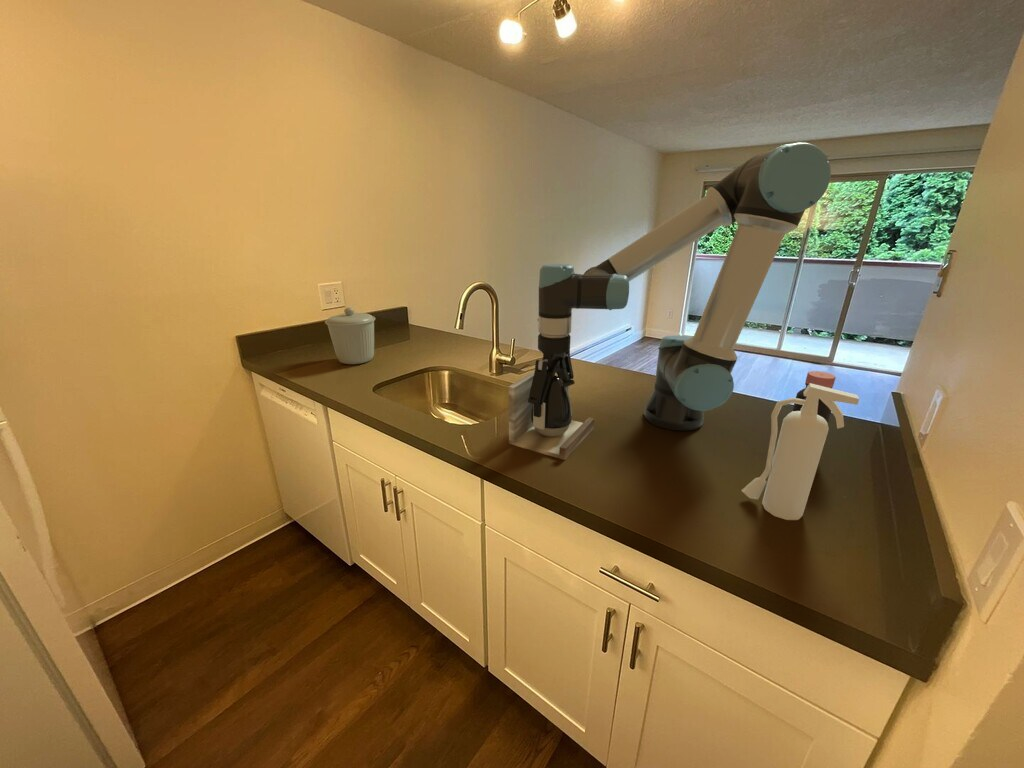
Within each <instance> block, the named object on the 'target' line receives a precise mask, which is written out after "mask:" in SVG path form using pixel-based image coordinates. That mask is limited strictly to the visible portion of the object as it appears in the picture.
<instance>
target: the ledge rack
mask: <svg viewBox="0 0 1024 768" xmlns="http://www.w3.org/2000/svg"><path fill="white" fill-rule="evenodd" d="M534 372H535V370H534V371H531V373H529V374H527V375H525V376H524V377H522V378H521V379H518V380H517V381H516V382H514V383H512V384H510V385H509V386H508V388H507V390H508V444H509V445H512V446H516V447H519V448H522V449H526V450H529V451H531V452H534V453H535V452H536V453H539V454H542V455H546V456H549V457H553V458H556V459H559V460H563V461H566V460H567V459H568V458H569V457H570V456H571V455H572V454H573V452H574V451H575V450H576V449H577V448H578V447H579V446H580V444H581V443H583V441H584V440H585V439H586V438H587V437H588V436H589V435H590V434H591V432H592V431H593V430H594V429H595V428H594V427H595V418H594V417H590V416H589V417H588V418H587V419H585V421H583V422H581V421H576V420H573V419H572V422H571V423H570V425H569V428H568V429H567V431H566V432H565V433H563V434H562V435H559V436H555V437H548V436H544V435H542V434H540V433H539V432H538V431H537V430H536V429H535V428H534V427H533V422H532V421H531V411H532V405H533V404H532V403H528V398H529V394H530V390H531V385H532V381H533V377H534Z"/></svg>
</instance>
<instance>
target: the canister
mask: <svg viewBox="0 0 1024 768" xmlns="http://www.w3.org/2000/svg"><path fill="white" fill-rule="evenodd" d="M343 311H344V313H338V314H334V315H332V316H330V317H328V319H326V320H325V321H324V323H325V324H326V325H327V328H328V331H329V332H328V333H329V335H330V339H331V342H332V346H333V349H334V353H335V355H336V358H337V360H338V361H339V363H341V364H343V365H345V364H346V365H359V364H364V363H367V362H370V361H371V360H372V359H373V357H374V355H375V321H376V317H375V315H372V314H369V313H365V312H355V309H354V308H353V307H349V306H348V307H346V308H344V310H343Z"/></svg>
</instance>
